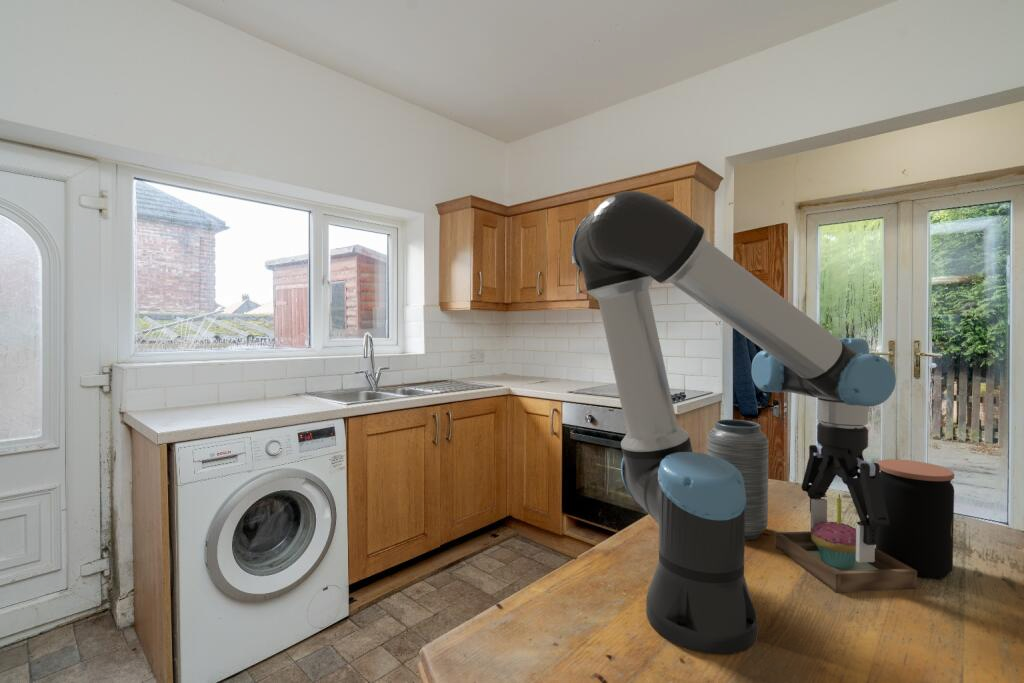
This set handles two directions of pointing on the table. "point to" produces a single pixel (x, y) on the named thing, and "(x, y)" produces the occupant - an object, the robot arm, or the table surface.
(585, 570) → the table surface
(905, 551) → the coffee jar
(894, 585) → the walled box
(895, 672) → the table surface
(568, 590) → the table surface
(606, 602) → the table surface
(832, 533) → the cupcake
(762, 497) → the vase
